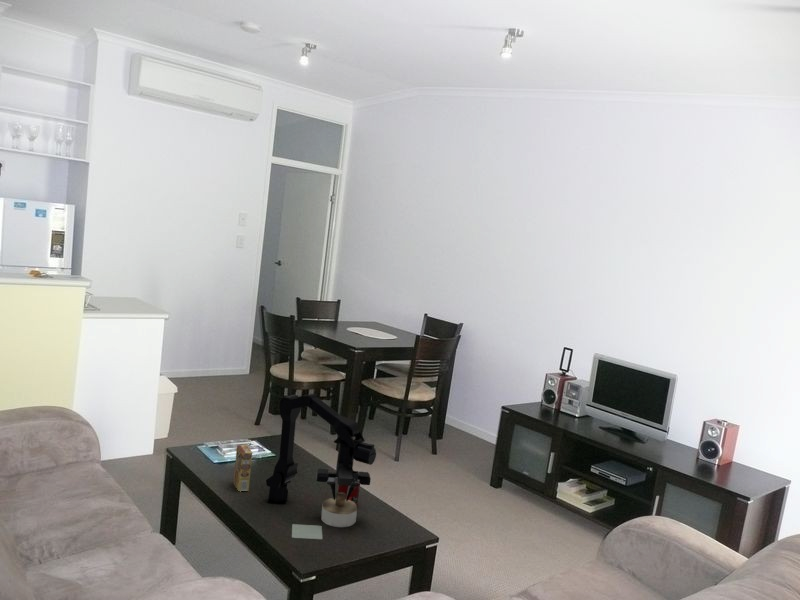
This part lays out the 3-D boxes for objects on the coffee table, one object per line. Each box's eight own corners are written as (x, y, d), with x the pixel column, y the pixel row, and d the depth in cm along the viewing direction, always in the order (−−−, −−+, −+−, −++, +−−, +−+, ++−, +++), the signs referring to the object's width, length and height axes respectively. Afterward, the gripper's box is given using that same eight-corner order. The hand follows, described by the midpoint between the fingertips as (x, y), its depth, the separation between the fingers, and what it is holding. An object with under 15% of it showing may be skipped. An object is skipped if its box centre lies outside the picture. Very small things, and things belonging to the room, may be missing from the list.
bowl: (321, 527, 234) (323, 513, 233) (320, 512, 246) (322, 499, 245) (356, 529, 236) (357, 515, 235) (353, 514, 247) (355, 501, 247)
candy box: (248, 491, 256) (253, 452, 254) (237, 492, 254) (242, 452, 252) (243, 483, 264) (247, 444, 262) (232, 483, 262) (236, 445, 260)
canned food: (354, 511, 250) (357, 482, 249) (333, 506, 252) (337, 478, 251) (359, 503, 258) (363, 475, 257) (339, 499, 259) (342, 471, 258)
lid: (323, 513, 233) (324, 499, 233) (322, 499, 245) (323, 486, 245) (357, 515, 235) (359, 501, 235) (355, 501, 247) (356, 488, 246)
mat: (291, 538, 222) (291, 537, 222) (292, 525, 232) (292, 524, 232) (322, 540, 224) (322, 539, 224) (321, 527, 234) (321, 525, 234)
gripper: (319, 463, 229) (314, 507, 231) (374, 467, 232) (368, 511, 233) (318, 452, 240) (313, 494, 241) (371, 456, 243) (365, 498, 244)
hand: (340, 500), depth 240 cm, fingers open, 4 cm apart
